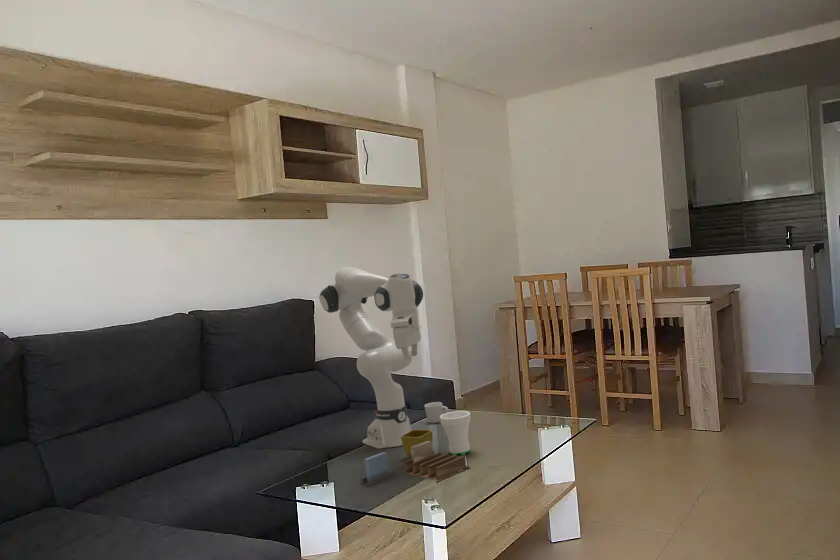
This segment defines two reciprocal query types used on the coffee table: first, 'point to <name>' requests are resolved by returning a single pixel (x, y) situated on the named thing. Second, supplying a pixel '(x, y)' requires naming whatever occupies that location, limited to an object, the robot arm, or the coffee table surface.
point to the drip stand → (378, 478)
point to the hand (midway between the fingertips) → (411, 357)
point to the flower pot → (415, 439)
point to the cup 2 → (457, 431)
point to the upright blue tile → (376, 465)
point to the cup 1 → (434, 411)
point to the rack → (433, 463)
